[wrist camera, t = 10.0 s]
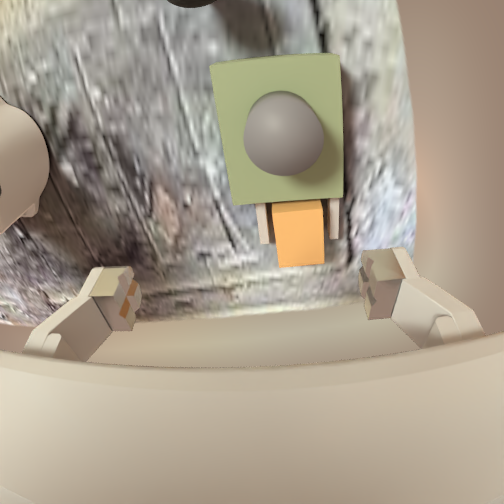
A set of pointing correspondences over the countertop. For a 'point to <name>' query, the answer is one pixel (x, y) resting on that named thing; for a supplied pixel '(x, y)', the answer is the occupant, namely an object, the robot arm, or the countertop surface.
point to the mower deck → (280, 77)
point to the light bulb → (191, 3)
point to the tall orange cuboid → (299, 232)
